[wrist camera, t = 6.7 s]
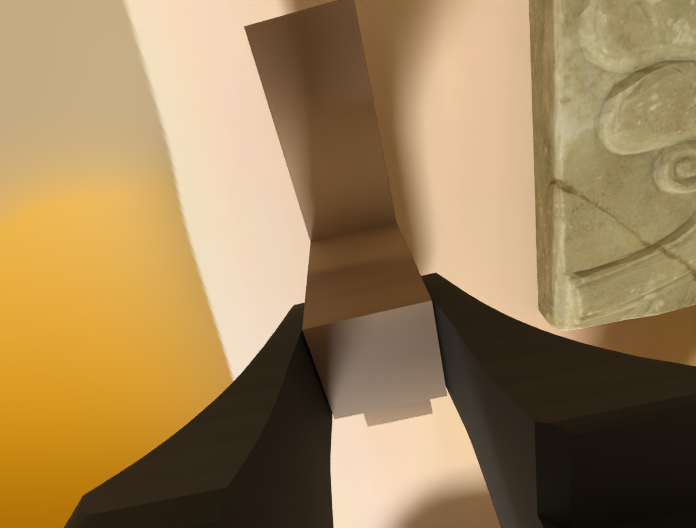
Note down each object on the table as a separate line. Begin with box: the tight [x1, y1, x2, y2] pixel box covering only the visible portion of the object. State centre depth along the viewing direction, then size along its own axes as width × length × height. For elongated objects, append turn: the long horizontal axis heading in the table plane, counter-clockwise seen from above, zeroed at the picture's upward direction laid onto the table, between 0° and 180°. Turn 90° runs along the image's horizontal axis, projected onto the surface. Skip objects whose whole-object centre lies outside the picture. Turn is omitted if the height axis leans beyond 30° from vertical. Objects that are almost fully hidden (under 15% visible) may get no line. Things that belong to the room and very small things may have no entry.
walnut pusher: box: [244, 0, 447, 427], centre depth 13 cm, size 16×3×8 cm, turn 13°
